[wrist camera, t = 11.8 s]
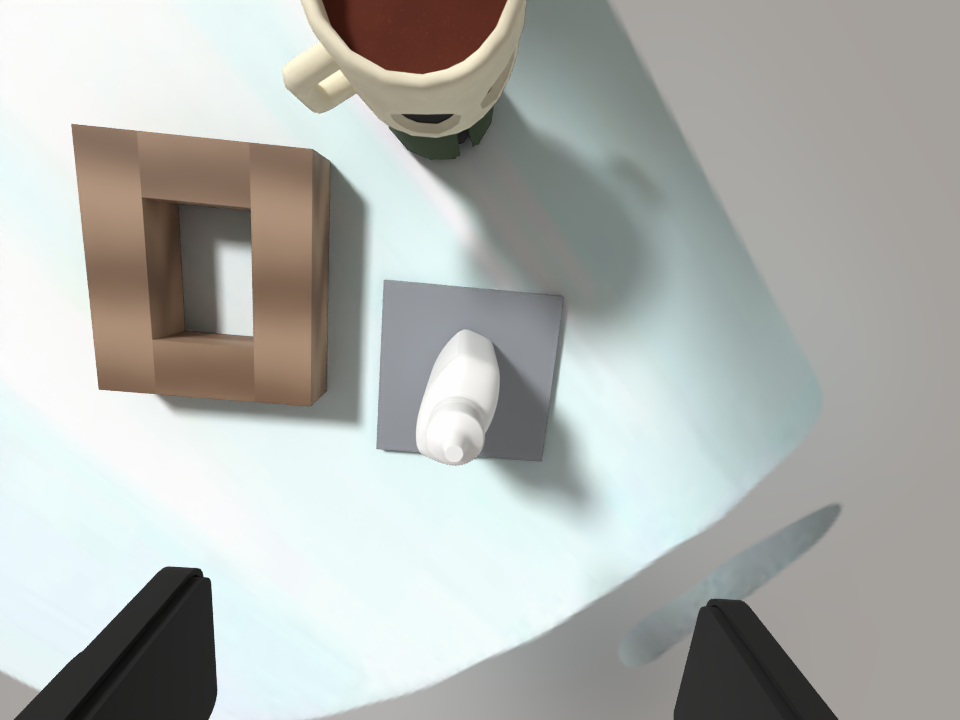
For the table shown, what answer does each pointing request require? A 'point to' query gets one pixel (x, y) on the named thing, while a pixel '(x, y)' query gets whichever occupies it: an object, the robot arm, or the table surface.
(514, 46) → the character mug
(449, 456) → the eye dropper bottle
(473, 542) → the table surface
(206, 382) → the walnut dock
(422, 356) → the slate mat
